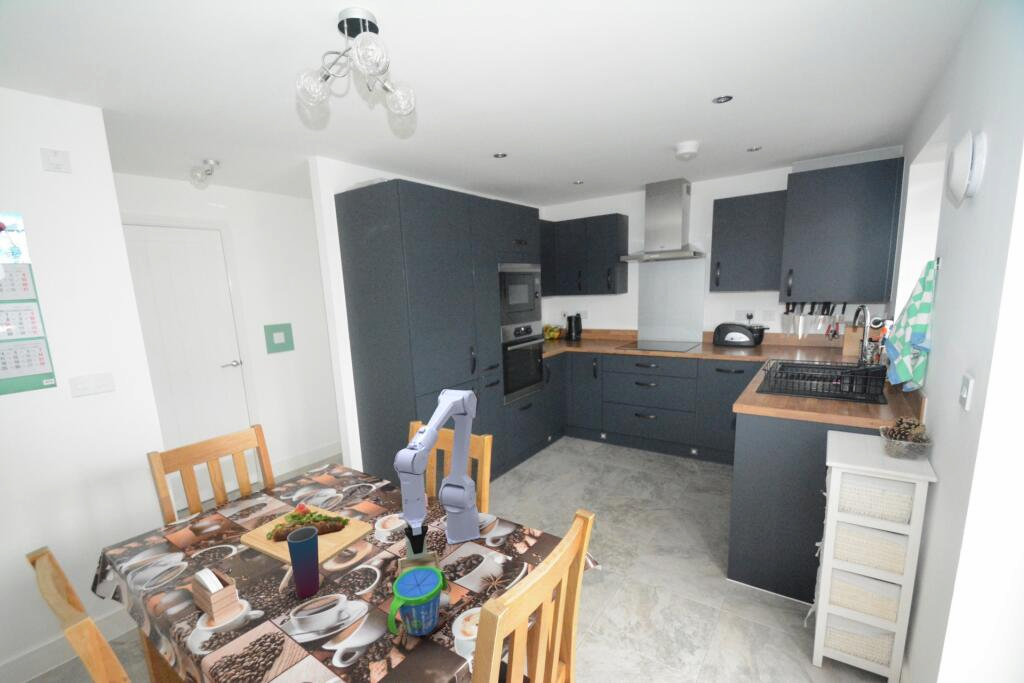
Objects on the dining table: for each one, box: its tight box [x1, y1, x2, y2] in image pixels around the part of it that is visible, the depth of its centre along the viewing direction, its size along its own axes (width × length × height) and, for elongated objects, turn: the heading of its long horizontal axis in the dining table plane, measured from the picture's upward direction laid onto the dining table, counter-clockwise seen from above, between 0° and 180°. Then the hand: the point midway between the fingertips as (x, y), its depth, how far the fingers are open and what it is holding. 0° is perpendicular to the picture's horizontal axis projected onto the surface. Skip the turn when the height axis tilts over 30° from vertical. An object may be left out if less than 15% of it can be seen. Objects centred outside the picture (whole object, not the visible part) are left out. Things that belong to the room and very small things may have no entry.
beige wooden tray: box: [397, 550, 442, 577], centre depth 106 cm, size 10×10×3 cm
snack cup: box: [387, 566, 449, 637], centre depth 90 cm, size 16×10×10 cm
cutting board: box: [239, 503, 374, 568], centre depth 128 cm, size 35×23×8 cm
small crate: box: [404, 534, 428, 561], centre depth 105 cm, size 5×5×5 cm
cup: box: [287, 527, 320, 599], centre depth 103 cm, size 7×7×15 cm
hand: (417, 546), depth 106 cm, fingers closed on small crate, 5 cm apart
